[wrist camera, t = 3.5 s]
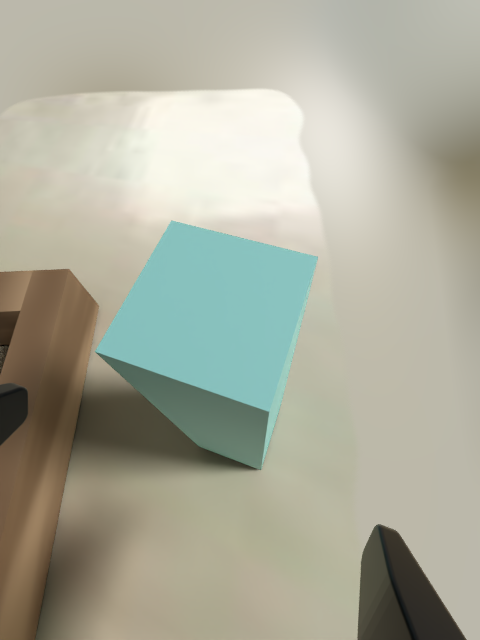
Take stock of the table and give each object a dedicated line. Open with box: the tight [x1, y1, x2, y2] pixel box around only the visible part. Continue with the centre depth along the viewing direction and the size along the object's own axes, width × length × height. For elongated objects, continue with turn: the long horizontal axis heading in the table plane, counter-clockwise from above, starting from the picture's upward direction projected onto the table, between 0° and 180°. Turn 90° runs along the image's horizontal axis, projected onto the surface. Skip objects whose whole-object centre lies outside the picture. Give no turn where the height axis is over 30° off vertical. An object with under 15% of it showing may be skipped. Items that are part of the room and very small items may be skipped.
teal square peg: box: [95, 221, 318, 470], centre depth 13 cm, size 3×3×13 cm
